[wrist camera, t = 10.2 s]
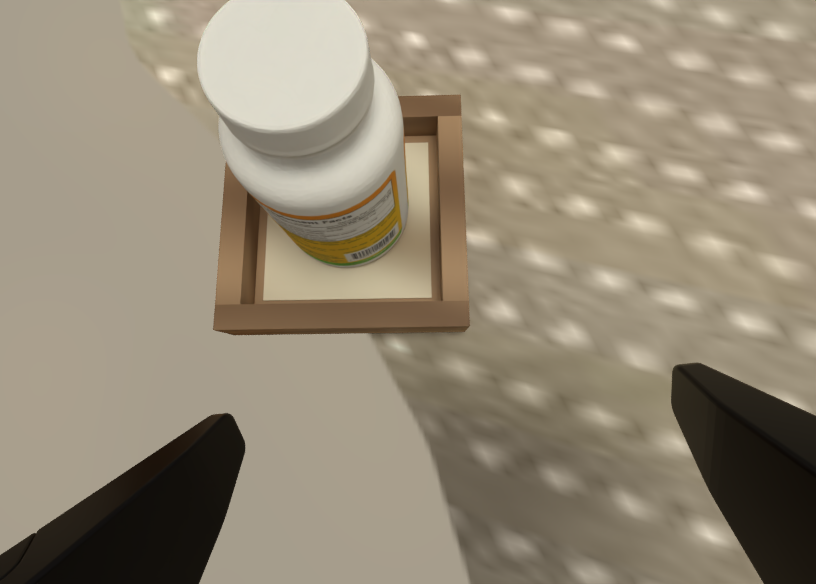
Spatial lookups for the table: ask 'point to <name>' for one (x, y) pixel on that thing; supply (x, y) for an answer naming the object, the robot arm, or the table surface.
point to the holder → (366, 284)
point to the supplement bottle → (309, 124)
